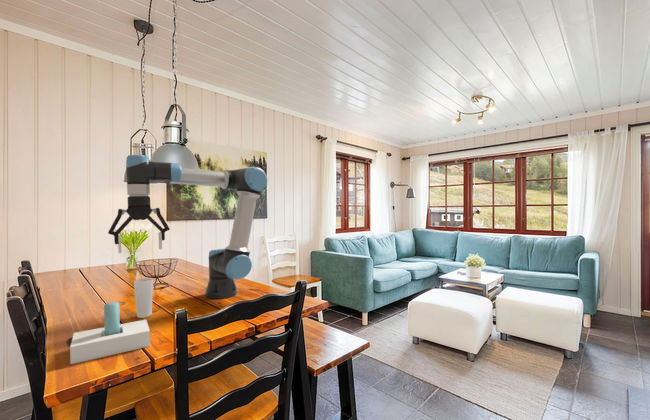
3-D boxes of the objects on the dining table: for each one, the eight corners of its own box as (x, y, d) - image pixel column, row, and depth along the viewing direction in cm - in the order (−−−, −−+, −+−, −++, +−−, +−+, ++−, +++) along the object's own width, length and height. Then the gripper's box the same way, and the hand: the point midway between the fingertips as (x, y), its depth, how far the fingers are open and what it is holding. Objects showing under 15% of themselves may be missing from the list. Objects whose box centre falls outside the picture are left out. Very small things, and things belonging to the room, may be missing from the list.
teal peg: (119, 343, 103) (119, 301, 103) (120, 347, 100) (119, 304, 100) (105, 346, 101) (104, 303, 101) (104, 351, 98) (104, 306, 97)
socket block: (146, 333, 111) (146, 319, 111) (150, 346, 101) (149, 330, 101) (74, 348, 100) (74, 332, 99) (70, 364, 90) (70, 347, 90)
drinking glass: (136, 314, 130) (136, 278, 130) (155, 312, 132) (154, 277, 132) (133, 320, 124) (132, 282, 123) (152, 317, 126) (151, 280, 126)
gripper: (172, 195, 131) (174, 246, 131) (98, 196, 116) (101, 253, 117) (176, 195, 125) (177, 248, 125) (98, 195, 110) (101, 255, 111)
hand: (140, 250), depth 121 cm, fingers open, 13 cm apart
